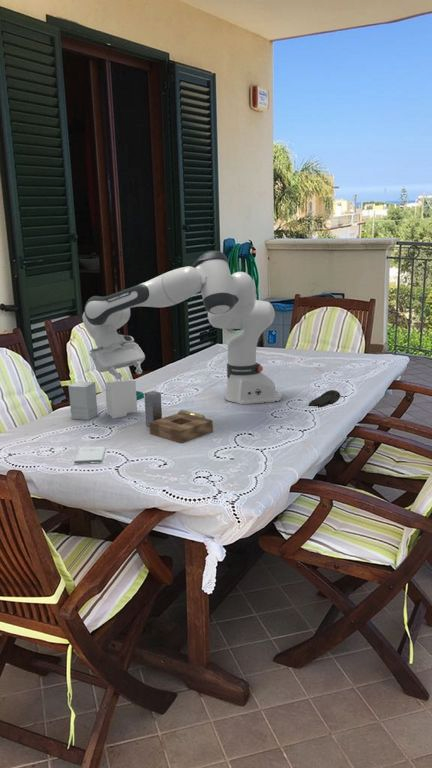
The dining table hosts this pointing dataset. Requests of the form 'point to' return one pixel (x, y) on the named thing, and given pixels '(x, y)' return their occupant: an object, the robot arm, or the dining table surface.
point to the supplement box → (83, 400)
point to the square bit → (152, 406)
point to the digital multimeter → (139, 395)
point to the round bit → (192, 413)
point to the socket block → (181, 427)
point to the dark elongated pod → (326, 398)
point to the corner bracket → (121, 398)
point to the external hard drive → (90, 454)
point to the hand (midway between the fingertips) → (130, 375)
